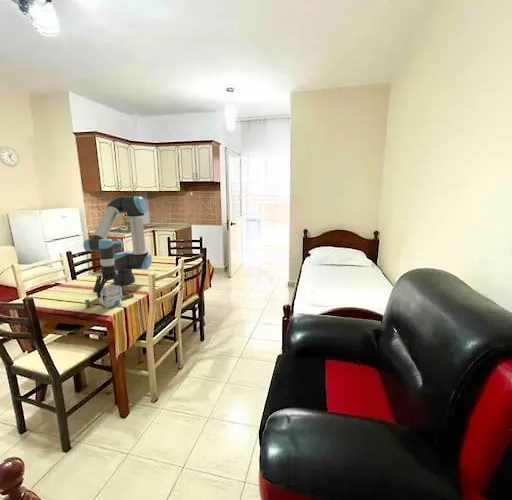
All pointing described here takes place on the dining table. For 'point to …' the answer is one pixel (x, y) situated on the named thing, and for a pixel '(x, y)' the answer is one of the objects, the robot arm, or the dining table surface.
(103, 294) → the ink box
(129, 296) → the walnut cradle
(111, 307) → the charcoal mat
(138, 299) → the dining table surface
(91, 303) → the brass lever
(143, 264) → the robot arm
